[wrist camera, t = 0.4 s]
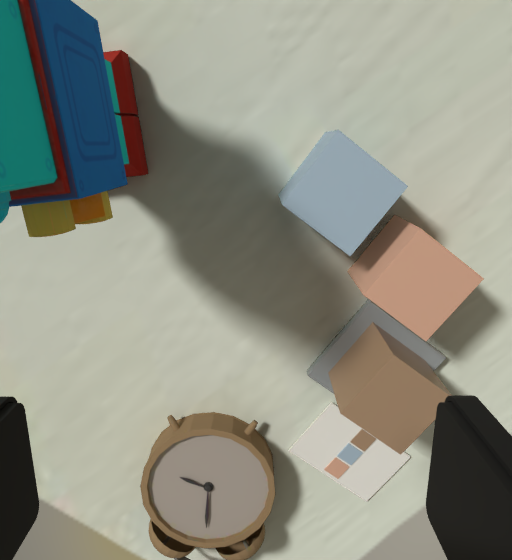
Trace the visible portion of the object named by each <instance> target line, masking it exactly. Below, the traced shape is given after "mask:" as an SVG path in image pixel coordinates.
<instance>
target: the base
mask: <svg viewBox="0 0 512 560" xmlns="http://www.w3.org/2000/svg"><path fill="white" fill-rule="evenodd" d="M445 359H446V357H445V356H444V355H443V354H442V353H441V352H440V351H438V350H437V349H436V348H434V347H433V346H432V345H430V344H429V343H428V342H426V341H425V340H423V339H422V338H421V337H419V336H418V335H417V334H415V333H414V332H412V331H411V330H410V329H408V328H407V327H406V326H404V325H403V324H402V323H400V322H399V321H398V320H396V319H395V318H394V317H392V316H391V315H390V314H388V313H387V312H386V311H384V310H383V309H382V308H380V307H379V306H378V305H376V304H375V303H374V302H372V301H371V300H370V299H368V300H367V301H366V303H365V304H364V305H363V306H362V307H361V308H360V309H359V311H358V312H357V313H356V314H355V315H354V316H353V318H352V319H351V320H350V321H349V322H348V323H347V325H346V326H345V327H344V328H343V329H342V330H341V332H340V333H339V334H338V335H337V336H336V337H335V339H334V340H333V341H332V342H331V343H330V344H329V346H328V347H327V348H326V349H325V350H324V351H323V353H322V354H321V355H320V356H319V357H318V358H317V360H316V361H315V362H314V363H313V364H312V365H311V367H310V368H309V369H308V370H307V375H308V376H309V377H310V378H312V379H313V380H315V381H316V382H318V383H319V384H321V385H322V386H323V387H325V388H326V389H328V390H329V391H331V392H332V393H334V394H335V398H336V401H337V404H338V408H339V411H340V414H342V415H343V416H345V417H346V418H348V419H349V420H350V421H352V422H353V423H355V424H356V425H358V426H359V427H361V428H362V429H364V430H365V431H367V432H368V433H370V434H371V435H372V436H374V437H375V438H377V439H378V440H380V441H381V442H383V443H384V444H386V445H387V446H389V447H390V448H391V449H393V450H394V451H396V452H397V453H399V454H400V455H401V454H402V453H403V452H404V451H405V450H406V449H407V448H408V447H409V446H410V445H411V444H412V443H413V442H414V441H415V440H416V439H417V438H418V437H419V436H420V434H421V433H422V432H423V431H424V430H425V429H426V428H427V427H428V426H429V425H430V424H431V423H432V422H433V421H434V420H435V419H436V411H437V406H438V404H439V403H440V402H445V399H446V397H447V396H452V395H451V394H450V392H449V391H448V390H447V388H446V387H445V386H444V384H443V383H442V382H441V381H440V379H439V378H438V377H437V375H436V374H435V373H434V370H435V369H436V368H437V367H438V366H439V365H440V364H441V363H442V362H443V361H444V360H445Z"/></svg>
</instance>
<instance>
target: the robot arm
mask: <svg viewBox="0 0 512 560" xmlns="http://www.w3.org/2000/svg"><path fill="white" fill-rule="evenodd" d="M426 509H427V514H428V518H429V521H430V523H431V525H432V527H433V529H434V531H435V533H436V535H437V538H438V540H439V542H440V544H441V546H442V548H443V550H444V553H445V555H446V557H447V559H448V560H512V436H511V435H510V434H509V433H508V432H507V431H506V429H505V428H504V427H503V426H502V425H501V424H500V423H499V422H498V420H497V419H496V418H495V417H494V416H493V415H492V414H491V413H490V412H489V410H488V409H487V408H486V407H485V406H484V405H483V404H482V403H481V401H480V400H479V399H478V398H477V397H475V396H447V397H446V399H445V402H440V403H439V404H438V406H437V411H436V420H435V429H434V437H433V446H432V455H431V463H430V472H429V481H428V489H427V498H426ZM38 510H39V499H38V493H37V486H36V479H35V473H34V466H33V460H32V453H31V447H30V440H29V434H28V427H27V421H26V414H25V409H24V406H23V404H21V403H17V401H16V399H15V398H14V397H0V560H12V559H13V557H14V556H15V554H16V552H17V551H18V549H19V547H20V546H21V544H22V542H23V540H24V539H25V537H26V535H27V534H28V532H29V530H30V529H31V527H32V525H33V524H34V522H35V520H36V518H37V514H38Z"/></svg>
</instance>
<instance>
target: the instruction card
mask: <svg viewBox="0 0 512 560" xmlns="http://www.w3.org/2000/svg"><path fill="white" fill-rule="evenodd" d="M289 452H291V453H292V454H294V455H296V456H297V457H299V458H300V459H302V460H303V461H305V462H306V463H308V464H309V465H311V466H312V467H314V468H315V469H317V470H319V471H320V472H322V473H323V474H325V475H326V476H328V477H329V478H331V479H332V480H334V481H335V482H337V483H338V484H340V485H342V486H343V487H345V488H346V489H348V490H349V491H351V492H352V493H354V494H355V495H357V496H358V497H360V498H361V499H363V500H365V501H366V502H367V501H368V500H369V499H370V498H371V497H372V496H373V495H374V494H375V493H376V492H377V491H378V490H379V489H380V488H381V487H382V486H383V485H384V484H385V483H386V482H387V481H388V480H389V479H390V478H391V477H392V476H393V475H394V474H395V472H396V471H397V470H398V469H399V468H400V467H401V466H402V465H403V464H404V463H405V462H406V461H407V460H408V459H409V458H410V455H408V454H407V453H406V452H403V453H402V454H401V455H400V454H399V453H397V452H396V451H394V450H393V449H391V448H390V447H389V446H387V445H386V444H384V443H383V442H381V441H380V440H378V439H377V438H375V437H374V436H372V435H371V434H370V433H368V432H367V431H365V430H364V429H362V428H361V427H359V426H358V425H356V424H355V423H353V422H352V421H350V420H349V419H348V418H346V417H345V416H343V415H342V414H340V411H339V408H338V406H337V405H336V404H334V403H333V402H331V403H330V404H329V405H328V406H327V407H326V408H325V409H324V410H323V412H322V413H321V414H320V415H319V416H318V417H317V418H316V419H315V421H314V422H313V423H312V424H311V425H310V426H309V427H308V428H307V429H306V431H305V432H304V433H303V434H302V435H301V436H300V437H299V438H298V440H297V441H296V442H295V443H294V444H293V445H292V446H291V447H290V448H289Z"/></svg>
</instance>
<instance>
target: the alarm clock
mask: <svg viewBox="0 0 512 560" xmlns="http://www.w3.org/2000/svg"><path fill="white" fill-rule="evenodd" d="M168 421H169V423H170V426H169V427H168V428H166V429H165V430H164V431H163V432H161V434H160V436H159V437H158V439H157V440H156V442H155V444H154V445H153V447H152V449H151V454H150V456H149V459H148V461H147V463H146V465H145V467H144V471H143V476H142V481H141V486H140V487H141V493H142V499H143V505H144V507H145V509H146V510H147V512H148V514H149V516H150V518H151V520H150V523H149V536H150V540H151V542H152V544H153V546H154V547H155V548H156V549H157V550H158V551H159V552H160V553H161V554H163V555H164V556H167V557H170V558H174V559H175V560H190V559H188V558H186V557H185V556H187V555H188V554H189V553H191V552H192V551H193V550H194V549H195V548H196V547H201V548H216V549H217V551H218V553H219V554H220V555H221V556H222V557H223V558H225V559H226V560H246V559H248V558H250V557H251V556H253V555H254V554H255V553H256V552H257V551H258V549H259V548H260V547H261V545H262V543H263V540H264V536H265V526H264V521H265V520H266V518H267V517H268V515H269V514H270V512H271V508H272V505H273V501H274V497H275V486H274V467H273V457H272V453H271V451H270V449H269V447H268V445H267V442H266V440H265V438H264V437H263V436H262V435H261V434H260V433H259V432H257V431H256V430H255V428H256V426H257V424H258V422H257V421H255V420H254V421H253V422H251V423H250V424H248V423H246V422H244V421H242V420H240V419H238V418H236V417H234V416H230V415H225V414H220V413H215V412H211V413H199V414H192V415H190V416H187V417H185V418H182V419H179V420H177V421H176V420H175V418H174V417H173V416H172V415H170V416H169V417H168Z"/></svg>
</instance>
